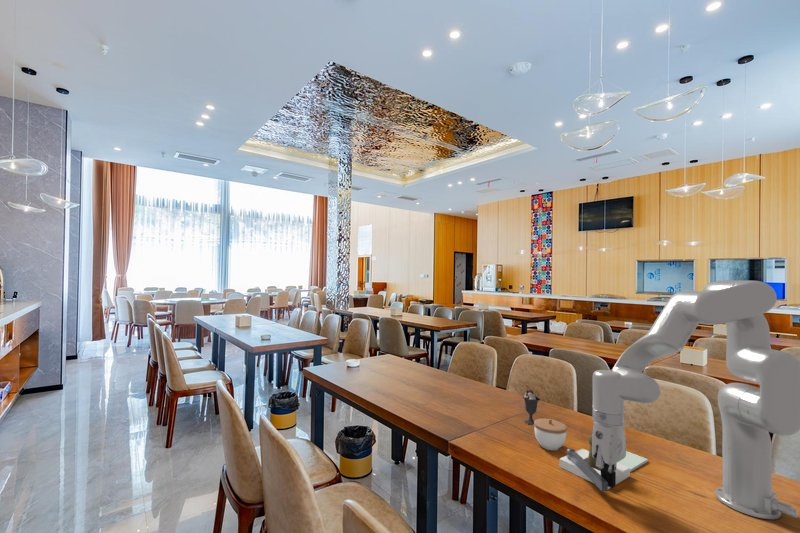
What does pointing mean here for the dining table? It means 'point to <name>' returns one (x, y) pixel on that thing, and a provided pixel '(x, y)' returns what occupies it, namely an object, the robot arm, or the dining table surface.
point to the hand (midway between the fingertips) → (608, 484)
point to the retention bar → (587, 470)
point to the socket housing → (568, 465)
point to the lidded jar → (550, 433)
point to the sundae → (530, 404)
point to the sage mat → (632, 461)
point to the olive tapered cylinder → (590, 458)
